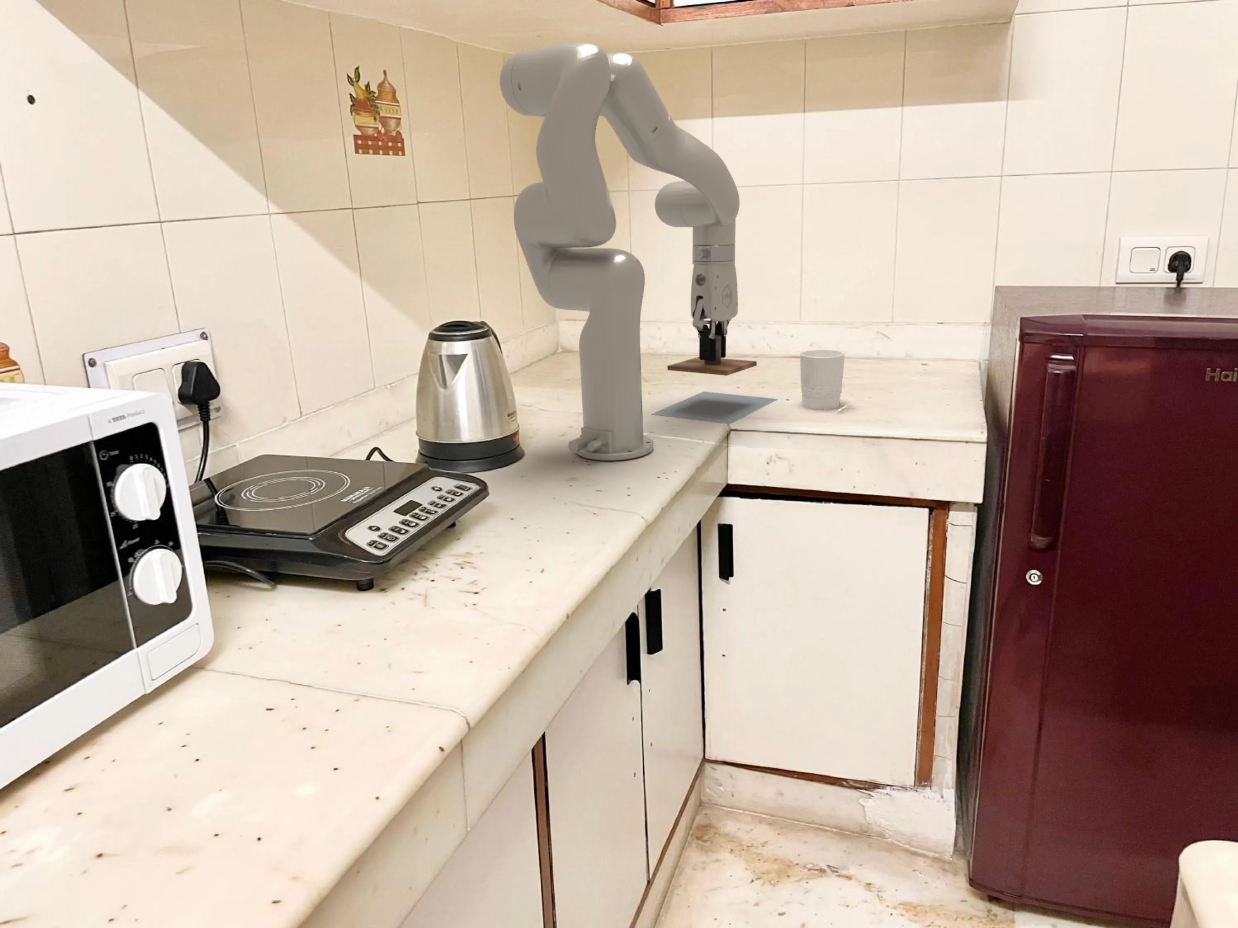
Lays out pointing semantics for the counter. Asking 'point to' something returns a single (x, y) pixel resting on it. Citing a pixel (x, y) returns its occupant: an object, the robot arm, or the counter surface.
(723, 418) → the rubber mat
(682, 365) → the walnut cover
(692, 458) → the counter surface
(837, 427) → the counter surface
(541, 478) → the counter surface
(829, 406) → the white cup
